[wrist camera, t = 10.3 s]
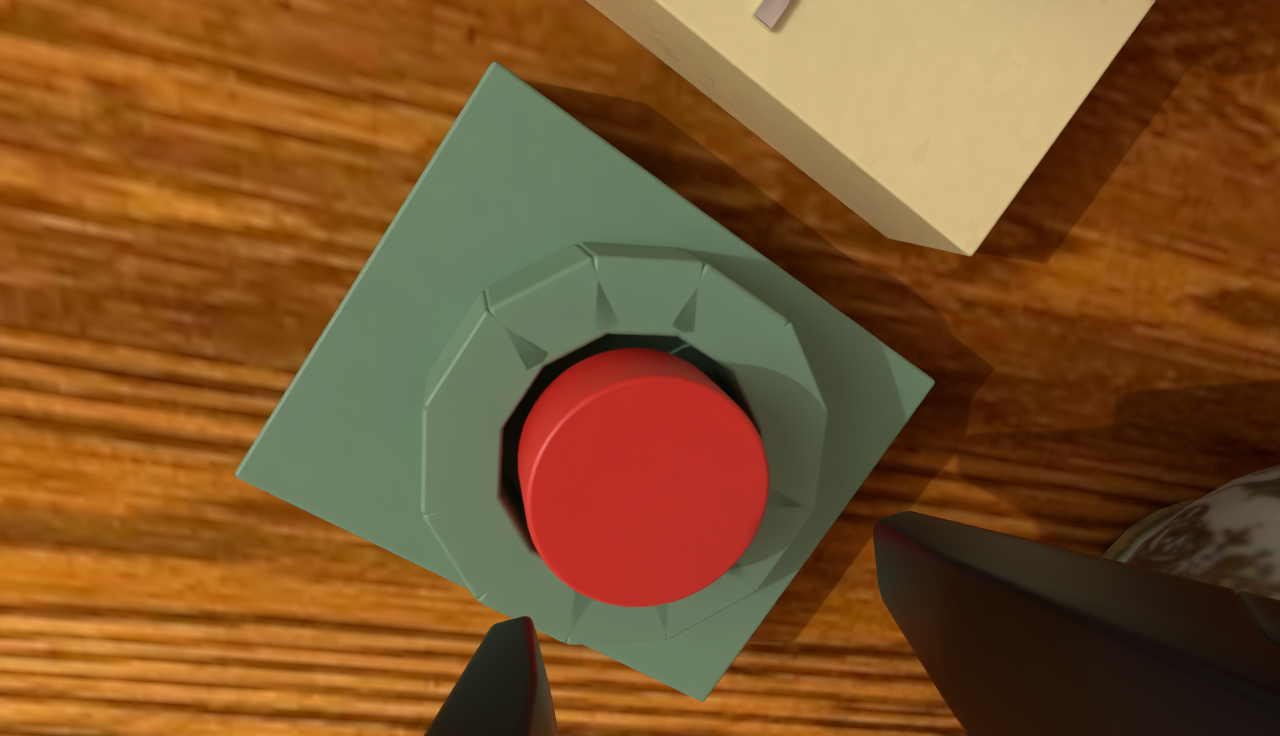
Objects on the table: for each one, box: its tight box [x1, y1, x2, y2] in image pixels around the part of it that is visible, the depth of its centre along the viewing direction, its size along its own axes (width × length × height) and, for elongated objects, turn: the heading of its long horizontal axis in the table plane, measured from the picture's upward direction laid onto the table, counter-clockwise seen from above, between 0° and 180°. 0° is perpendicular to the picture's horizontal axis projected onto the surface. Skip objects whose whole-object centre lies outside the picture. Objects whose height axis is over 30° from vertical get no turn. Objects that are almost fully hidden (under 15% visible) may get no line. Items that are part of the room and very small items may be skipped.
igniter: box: [235, 61, 935, 702], centre depth 15 cm, size 10×8×4 cm
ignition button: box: [518, 348, 769, 607], centre depth 12 cm, size 4×4×2 cm
